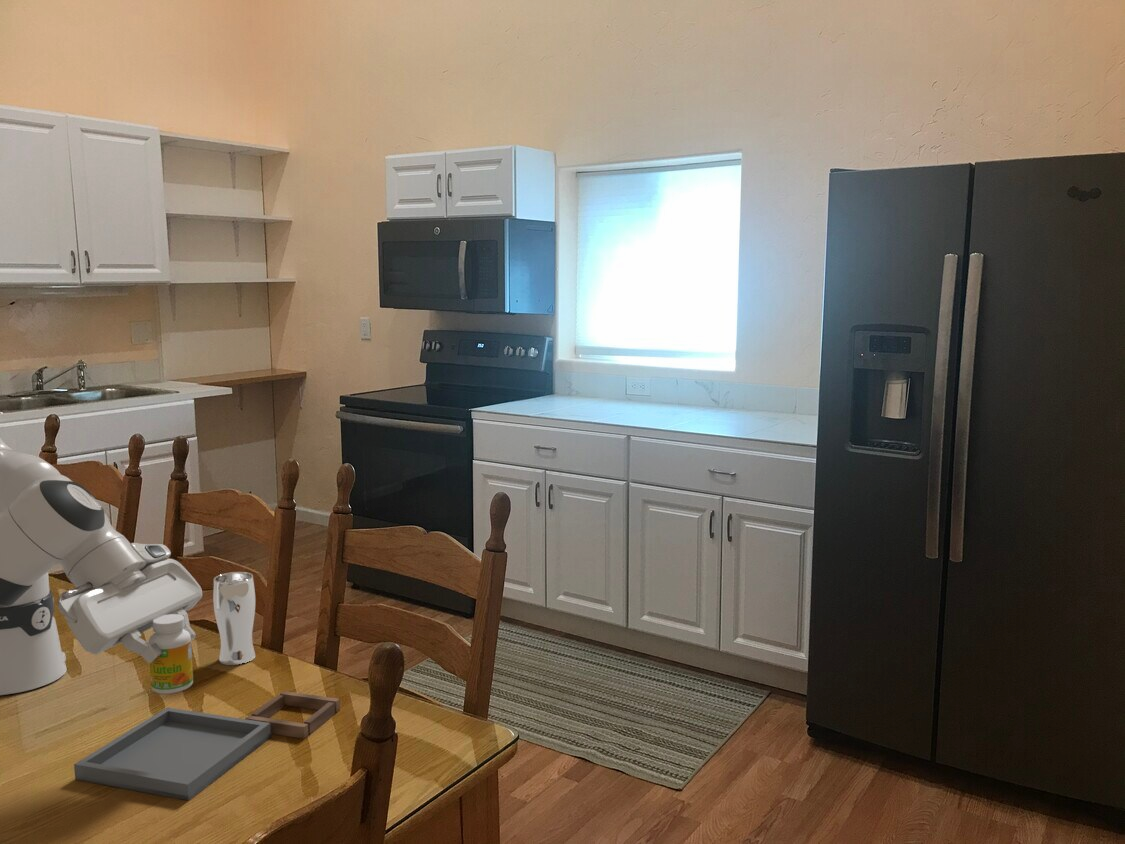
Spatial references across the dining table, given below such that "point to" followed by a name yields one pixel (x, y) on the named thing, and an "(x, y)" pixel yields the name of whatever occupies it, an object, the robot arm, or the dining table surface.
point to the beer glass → (235, 616)
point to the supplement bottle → (171, 655)
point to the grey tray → (173, 753)
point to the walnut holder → (294, 729)
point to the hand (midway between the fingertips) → (173, 649)
